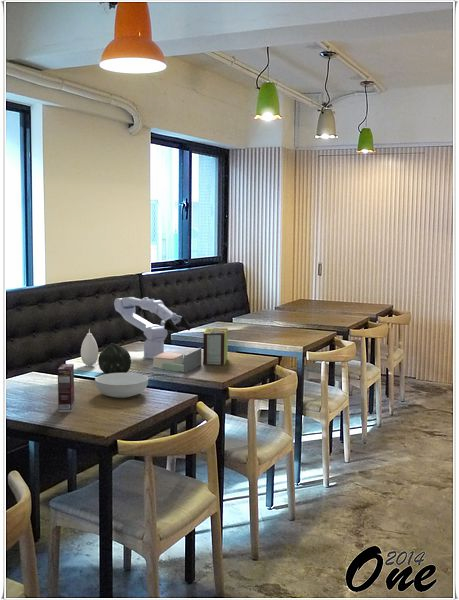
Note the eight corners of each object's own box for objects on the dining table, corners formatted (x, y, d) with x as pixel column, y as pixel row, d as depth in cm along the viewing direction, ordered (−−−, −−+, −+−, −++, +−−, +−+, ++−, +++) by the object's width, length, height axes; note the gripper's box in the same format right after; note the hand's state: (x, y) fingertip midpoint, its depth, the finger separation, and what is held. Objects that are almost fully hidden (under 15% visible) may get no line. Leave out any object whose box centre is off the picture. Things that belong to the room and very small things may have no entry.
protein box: (227, 358, 332) (228, 328, 330) (224, 365, 316) (224, 333, 314) (206, 357, 333) (207, 327, 331) (202, 364, 317) (203, 332, 315)
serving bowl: (158, 392, 266) (158, 375, 266) (129, 405, 247) (129, 387, 247) (114, 385, 275) (114, 369, 274) (84, 398, 256) (83, 380, 255)
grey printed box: (162, 369, 304) (162, 352, 304) (178, 362, 321) (178, 345, 320) (186, 372, 300) (186, 355, 299) (201, 364, 317) (201, 348, 316)
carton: (152, 368, 309) (153, 357, 309) (163, 362, 321) (163, 352, 320) (173, 370, 306) (173, 359, 305) (183, 364, 317) (183, 354, 317)
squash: (130, 356, 306) (109, 334, 300) (141, 364, 293) (120, 341, 287) (108, 378, 303) (86, 356, 296) (118, 387, 290) (96, 364, 283)
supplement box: (61, 405, 245) (61, 363, 243) (74, 405, 245) (74, 363, 243) (57, 412, 236) (57, 369, 234) (71, 412, 237) (70, 369, 235)
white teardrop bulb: (88, 368, 304) (88, 330, 302) (77, 366, 308) (77, 328, 306) (101, 366, 310) (101, 328, 308) (90, 363, 315) (90, 326, 312)
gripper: (157, 310, 316) (174, 325, 308) (180, 306, 326) (197, 320, 318) (153, 323, 319) (170, 337, 311) (176, 318, 329) (193, 332, 321)
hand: (184, 329), depth 315 cm, fingers open, 7 cm apart
